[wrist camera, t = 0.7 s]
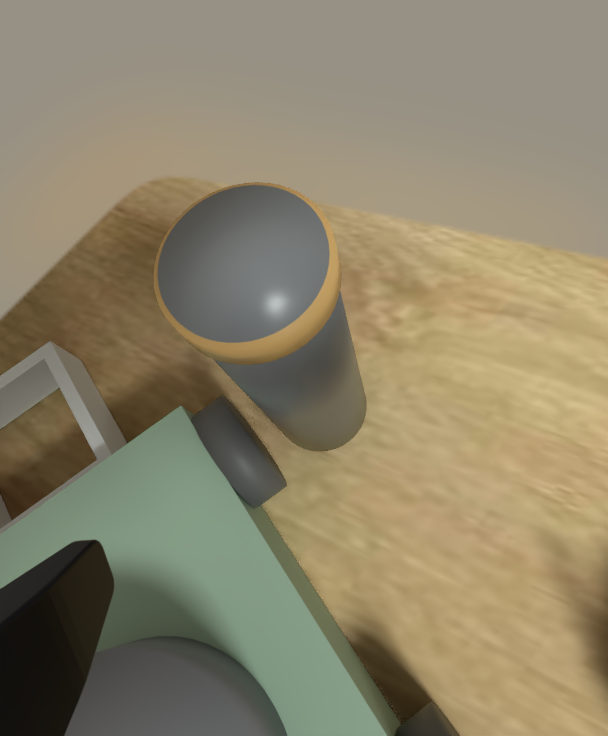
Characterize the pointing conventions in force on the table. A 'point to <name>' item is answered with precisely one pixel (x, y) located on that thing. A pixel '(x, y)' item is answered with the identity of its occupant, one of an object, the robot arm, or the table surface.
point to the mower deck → (191, 579)
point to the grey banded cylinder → (267, 307)
